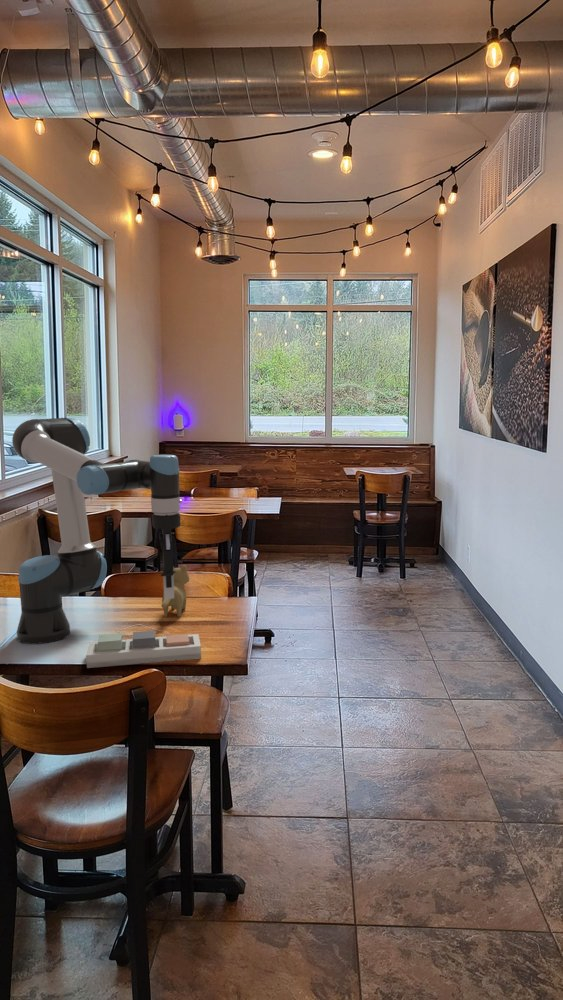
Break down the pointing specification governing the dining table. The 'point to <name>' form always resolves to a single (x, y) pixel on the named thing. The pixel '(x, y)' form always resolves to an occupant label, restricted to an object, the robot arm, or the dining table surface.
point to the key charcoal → (144, 639)
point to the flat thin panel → (142, 625)
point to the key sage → (110, 641)
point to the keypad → (142, 653)
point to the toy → (177, 592)
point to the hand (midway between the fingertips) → (169, 597)
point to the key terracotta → (177, 640)
